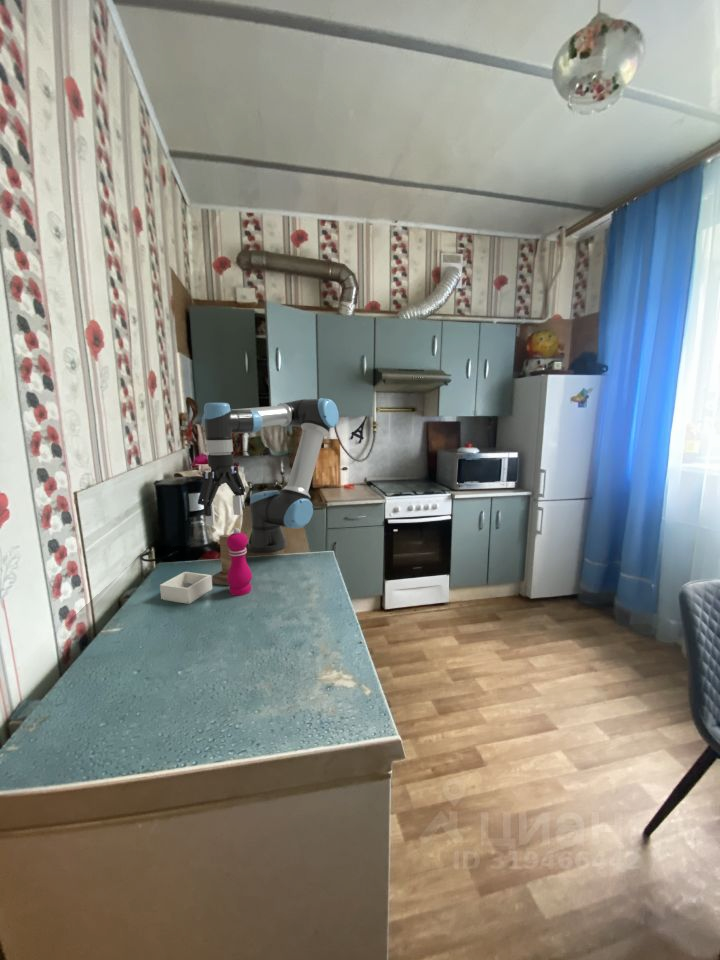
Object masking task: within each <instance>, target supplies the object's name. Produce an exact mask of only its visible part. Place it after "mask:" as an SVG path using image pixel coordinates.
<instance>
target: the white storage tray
mask: <svg viewBox="0 0 720 960" xmlns="http://www.w3.org/2000/svg"><path fill="white" fill-rule="evenodd" d="M159 590H160V591H159V592H160V600H162V599H163V601H169V602H175V603H182V604H187V605H191V603H193V602H195V601H197V599H200V598H201V597H202V596H204V595H205V594H207V593H209V592H210V591H211V590H213V575H212V574H205V573H197V572H191V571H184V572H182V573H179V574H177V575H176V576H174V577H172V578H170V579H168V580H166V581H165V582H163V583H161V584H159Z"/></svg>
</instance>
